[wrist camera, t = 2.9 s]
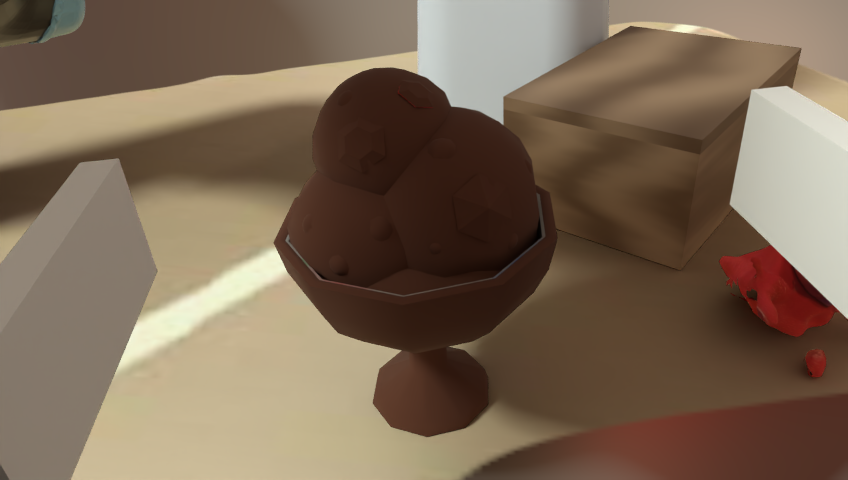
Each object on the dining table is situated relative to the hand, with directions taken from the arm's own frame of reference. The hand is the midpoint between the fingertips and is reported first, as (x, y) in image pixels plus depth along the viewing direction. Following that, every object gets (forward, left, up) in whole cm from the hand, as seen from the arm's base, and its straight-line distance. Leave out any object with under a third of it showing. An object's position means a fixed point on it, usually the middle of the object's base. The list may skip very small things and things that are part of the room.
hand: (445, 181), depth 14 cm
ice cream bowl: (-7, +7, -16) cm, 19 cm away
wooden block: (-8, +31, -16) cm, 36 cm away
